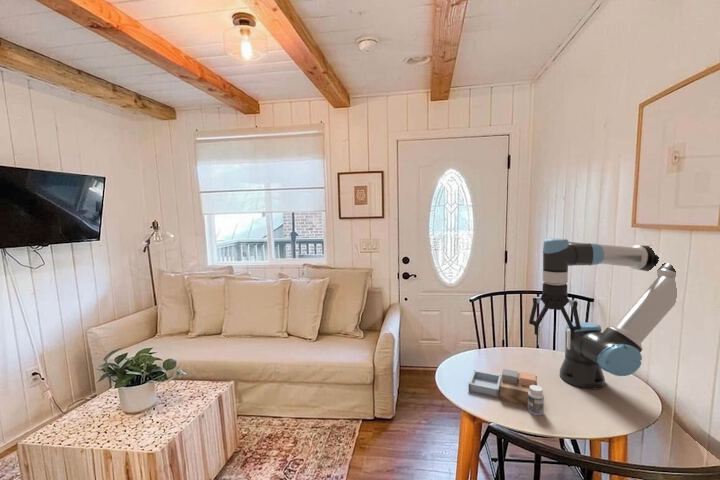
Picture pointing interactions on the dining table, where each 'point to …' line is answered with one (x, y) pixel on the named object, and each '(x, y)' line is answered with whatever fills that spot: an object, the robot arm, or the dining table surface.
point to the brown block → (514, 391)
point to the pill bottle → (535, 400)
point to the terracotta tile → (527, 379)
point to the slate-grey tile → (510, 376)
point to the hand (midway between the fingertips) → (553, 345)
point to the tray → (485, 383)
